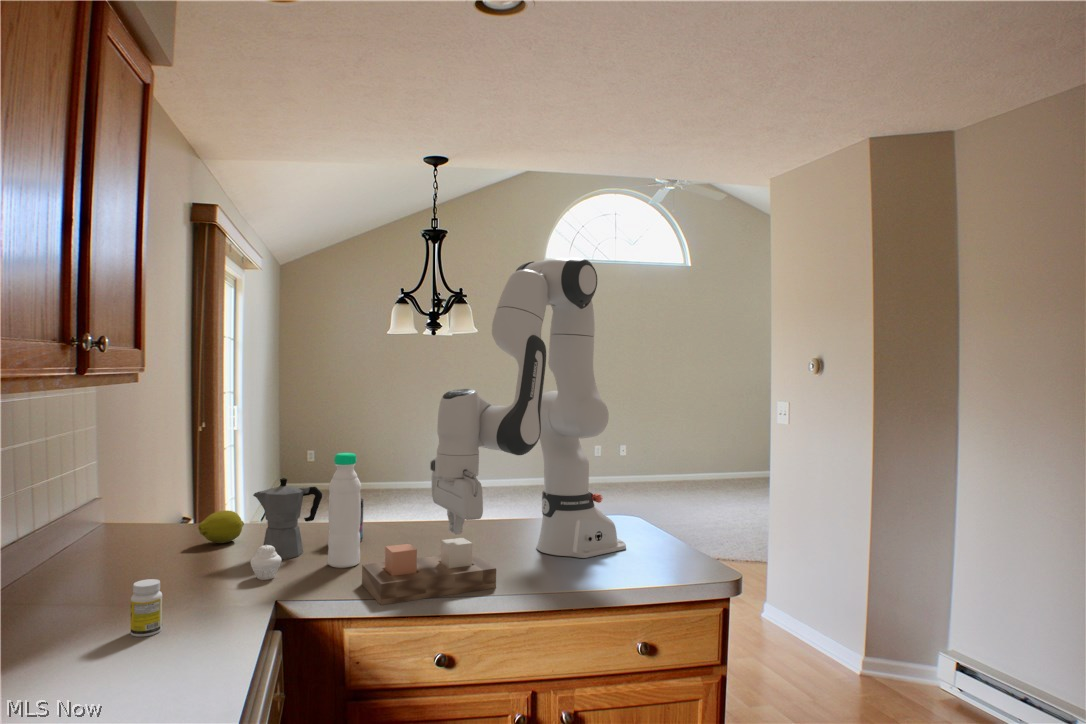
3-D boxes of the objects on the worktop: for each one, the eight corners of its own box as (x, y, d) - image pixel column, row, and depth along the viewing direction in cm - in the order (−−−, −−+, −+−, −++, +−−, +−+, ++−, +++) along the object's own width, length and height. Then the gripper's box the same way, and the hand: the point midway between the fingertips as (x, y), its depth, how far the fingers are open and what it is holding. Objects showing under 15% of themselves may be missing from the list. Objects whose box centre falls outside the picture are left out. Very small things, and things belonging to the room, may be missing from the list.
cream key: (462, 560, 156) (463, 537, 156) (471, 567, 151) (472, 543, 151) (440, 563, 153) (441, 540, 153) (449, 570, 149) (449, 545, 149)
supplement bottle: (138, 627, 125) (139, 578, 125) (167, 626, 125) (167, 577, 125) (124, 637, 120) (125, 587, 120) (154, 637, 120) (155, 586, 120)
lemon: (240, 536, 187) (240, 505, 187) (248, 543, 180) (248, 511, 180) (194, 542, 180) (194, 510, 180) (201, 549, 174) (201, 516, 174)
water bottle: (351, 569, 160) (352, 456, 160) (321, 567, 161) (323, 454, 161) (365, 560, 167) (366, 452, 167) (336, 558, 168) (338, 451, 168)
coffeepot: (252, 562, 164) (253, 483, 164) (252, 551, 173) (253, 476, 173) (323, 556, 170) (324, 479, 170) (319, 546, 179) (320, 473, 179)
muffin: (285, 578, 153) (286, 545, 153) (256, 584, 149) (256, 550, 149) (274, 571, 158) (275, 539, 158) (245, 576, 154) (246, 543, 154)
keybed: (469, 569, 161) (470, 551, 161) (495, 587, 149) (496, 568, 149) (361, 584, 150) (362, 564, 150) (380, 605, 138) (380, 584, 138)
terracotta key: (408, 567, 150) (409, 543, 150) (416, 574, 146) (416, 549, 145) (384, 570, 148) (385, 546, 148) (392, 577, 143) (392, 552, 143)
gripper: (491, 473, 144) (489, 542, 144) (454, 459, 162) (452, 521, 162) (462, 475, 141) (460, 546, 141) (427, 461, 159) (425, 524, 159)
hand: (455, 532), depth 152 cm, fingers closed
